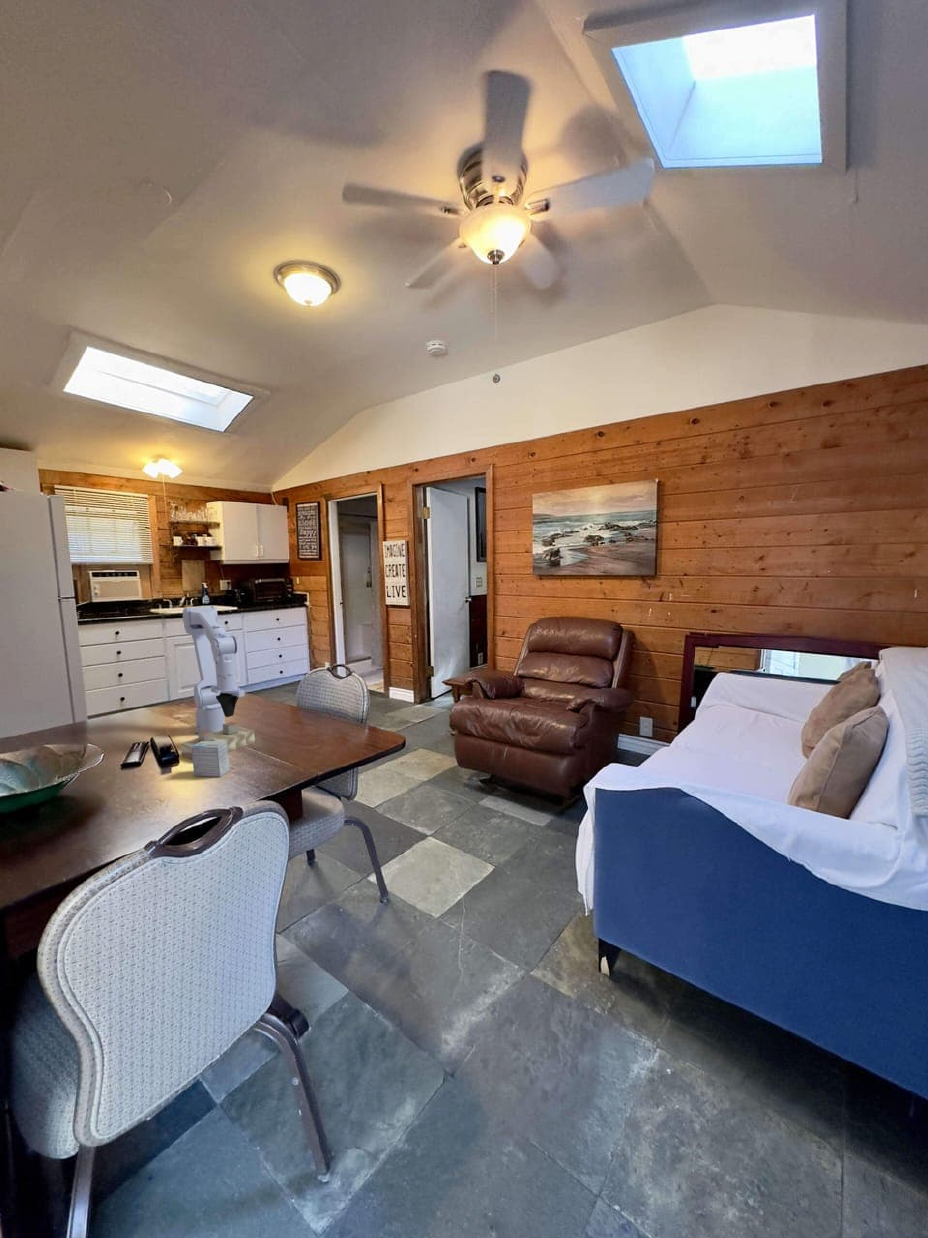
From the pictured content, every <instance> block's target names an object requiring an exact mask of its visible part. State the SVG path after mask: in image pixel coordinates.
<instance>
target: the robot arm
mask: <svg viewBox="0 0 928 1238" xmlns="http://www.w3.org/2000/svg"><path fill="white" fill-rule="evenodd" d="M218 617H219V615H218V610H217V608H216V607H215V606H214V605H211V606H197V607H184V608H183V610H182V622H183V626H184V630H185V633H187V634H188V635H191V638H192V641H193V644H194V645H193V646H194V649H195V656H196V661H197V665H198V666H197V667H198V672H199V677H200V681H198V682H197V684H195V685H194V687H193V701H194V705H195V707H197V708H196V711H195V721H196V722H195V724H196V729H195V730H194V731H193V732H194V733H197V734H198V732H200V731H204V730H207V729H209V730H212V731H213V732H217V731H220V730H223V724H226V718H231V717H232V716H234V714H235V710H236V704H237V702H238V700H239V698H242V697H243V698H244V697H245V690H244V689H242V688H240V687H239V686H238V683H237V682H238V681H237V666H236V654H237V653H238V641H237V639H236V637H235V636H234V635H229V634H228V632H227V631H226V629H225V628H224V627H223V625H220V624H218V623H217V622H218ZM214 662H215V663H214ZM214 664H215V665H214Z"/></svg>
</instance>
